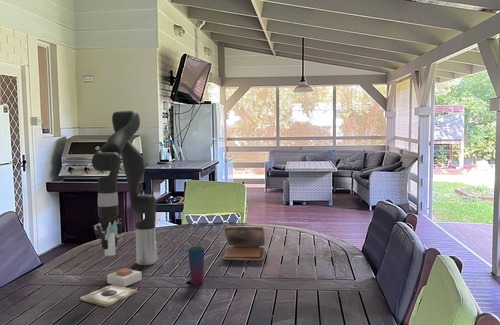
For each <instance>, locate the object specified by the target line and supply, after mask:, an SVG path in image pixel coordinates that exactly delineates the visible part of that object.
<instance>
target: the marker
mask: <svg viewBox="0 0 500 325" xmlns="http://www.w3.org/2000/svg"><path fill="white" fill-rule="evenodd" d="M104 231H105V232H106V230H104ZM104 235H105V234H104ZM107 240H108V249H104V256H106V257H113V256H115V255H116V246H115V225H114V224H111V226H110V230H109V234H108V237H107Z"/></svg>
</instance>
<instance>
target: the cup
mask: <svg viewBox="0 0 500 325" xmlns="http://www.w3.org/2000/svg"><path fill="white" fill-rule="evenodd" d="M187 250H188V251H187V252H188V262H189V263H188V264H189V274H190V284H191V285H202V284H203V283H204V269H205V268H204V266H205V263H204V262H205V246H203V245H192V246H189V247H188V248H187Z"/></svg>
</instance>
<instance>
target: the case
mask: <svg viewBox="0 0 500 325" xmlns="http://www.w3.org/2000/svg"><path fill="white" fill-rule="evenodd" d="M223 231H224V236H225V239H226V242H227V245H228V246H229V245H230V246H231V247H228V248H226V250H225V253H224V255H223V257H222V260H224V261H238V262H239V261H244V262H245V261H246V262H248V261H249V262H250V261H251V262H259V261H263V260H264V258H265V253H266V249H265V248H264V247H263V246H265V245H266V236H265V234H266V233H265V228H264V227H262V226H260V225H259V226H253V225H251V226H243V225H241V226H237V225H236V226H225V227H223Z"/></svg>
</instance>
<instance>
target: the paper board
mask: <svg viewBox="0 0 500 325" xmlns="http://www.w3.org/2000/svg"><path fill="white" fill-rule="evenodd" d="M137 293H138V290H137V289H132V288H130V287H122V286H118V285H113V284H109V285H107V286H104V287H102V288H100V289H97V290H94V291H92V292H90V293H88V294H85V295H82V296H80V297H79V298H80V301H83V302H86V303H90V304H94V305H96V306H101V307H105V308H107V307H109V306H111V305H114V304H116V303H118V302H120V301H122V300H124V299H126V298H129V297H130V296H133V295H135V294H137Z"/></svg>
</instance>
